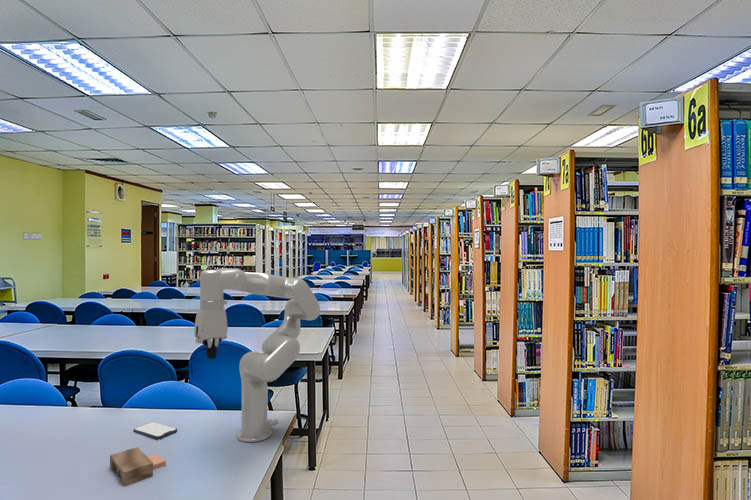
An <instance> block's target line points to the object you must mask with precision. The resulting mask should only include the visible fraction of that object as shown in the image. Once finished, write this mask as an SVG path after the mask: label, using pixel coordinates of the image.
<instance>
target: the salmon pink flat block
mask: <svg viewBox="0 0 751 500" xmlns="http://www.w3.org/2000/svg"><path fill="white" fill-rule="evenodd" d="M147 457H148V458H149V459H150V460H151V461H152V462H153V471H154V470H157V469H159V468H162V467H166V464H167V463H166V460H165V459H164V458H163V457H162V456H161V455H160V454H159V453H156V454H152V455H150V456H147Z"/></svg>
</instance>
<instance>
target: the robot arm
mask: <svg viewBox="0 0 751 500" xmlns="http://www.w3.org/2000/svg"><path fill="white" fill-rule="evenodd" d="M199 276H200V279H199V282H200V285H199V287H200V288H199V309H197V311H196V316H195V321H194V337H195V343H196V344H199V345H200V344H203V345H204V346H205V347H206V350H205V352H206V354H205V356H206V358H207V359H208V360H209V359H210V360H213V359H216V357H217V355H218V354H217V353H218V352H217V351H218V347H219V344H220V343H221V342H222V341H224V340H226V339H227V338H228V336H227V335H228V319H227V318H228V317H227V312H226V308H224V307H225V305H227V304H228V302H227V300H225V299H224V290H230V291H237V292H244V293H248V294H253V295H258V296H266V297H274V298H282V299H289V300H287V302H286V303H285V305H284V316H283V317H284V318H283V322H282V323H281V324H280V325H279V327H277V328H276V329H275V330H274V331H273V332H272V333H271V334H270V335H269V336H268V337H267V338H266V339H265V340H264V341H263V343H262V345H261V351H262V352H259V351H248V352H247V353H245V354H243V355H242V357H241V358H240V360H239V365H238V367H239V368H238V369H239V375H240V379H241V381H240V382H241V429H240V430H239V431H237V434H236V438H237V439H238V440H239V441H240V442H243V443H255V442H256V443H257V442H261V441H264V440H266V439H268V438H269V437H271V435H272V429H271V428H272V427H273V426H276V425H278V424H279V419H277V418H276V419H273V420H272V418H270V419H268V395H269V394H268V393H269V392H268V391H269V389H268V383H271V382H274V381H276V380H277V379H278V378H280V376H281V375H282V374H284V372H285V371H286V370H287V369H288V368H289V367H290V366H291V365H292V364H293V363H294V362H295V361H296V360H297V358H298V357H299V354H300V349H301V345H300V342H299V340H298V339H297V338H298V337H299V335H300V333H301V320H304V321H314V320H316V319H317V318H318V317H319V316H320V314H321V307H320V303H319V301H318V299H317V297H316V296H315V294H314V292H313V291H312V289H311V288H310V286H309V284H308V283H307V281H305V280H304V279H302V278H297V277H287V276H281V275H274V274H270V273H264V272H248V271H243V270H241V269H239V268H227V267H225V268H224V267H223V268H222V267H221V268H218V269H204V270H202V271H201V272H200V275H199Z"/></svg>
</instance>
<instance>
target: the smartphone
mask: <svg viewBox="0 0 751 500" xmlns="http://www.w3.org/2000/svg"><path fill="white" fill-rule="evenodd" d="M132 431H133V433H134V434H138V435H141V436H143V437H147V438H149V439H153V440H156V441H160V440H162V438H163V439H165V438H167V437H170V436H171V434H172V435H174V433H175V434H176V432H177V433H178V428H176V427H173V426H169V425H166V424H162V423H159V422H155V421H151V422H148V423H146V424H142V425H140V426H138V427H137V426H136V427H135V428H133V430H132ZM169 435H170V436H169ZM164 437H165V438H164ZM159 439H160V440H159Z"/></svg>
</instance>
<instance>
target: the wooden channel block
mask: <svg viewBox="0 0 751 500" xmlns="http://www.w3.org/2000/svg"><path fill="white" fill-rule="evenodd" d="M148 457H149V456H147V454H145V453H144V452H143V451H142V450H141V449H140V448H139V447H133V448H130V449H126V450H123V451H119V452H117V453H114V454H110V455H109V469H110V470H111V471H113V470H116V471H115V472H116V473H117V474H118V475H120V478H121V484H122V485H123V486H124V487H125V486H128V485H130V484H134V483H136V482H140V481H141V480H145V479H148V478H150V477H153V476H154V470H153V462H152V461H151V460H150V459H149V458H148Z"/></svg>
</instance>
